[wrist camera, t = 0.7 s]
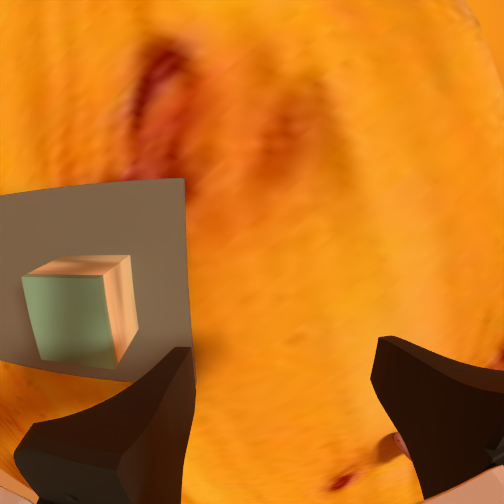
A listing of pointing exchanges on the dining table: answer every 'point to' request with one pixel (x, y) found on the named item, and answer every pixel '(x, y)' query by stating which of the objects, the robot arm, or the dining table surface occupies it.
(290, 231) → the dining table surface
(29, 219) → the rubber mat
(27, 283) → the birch block
